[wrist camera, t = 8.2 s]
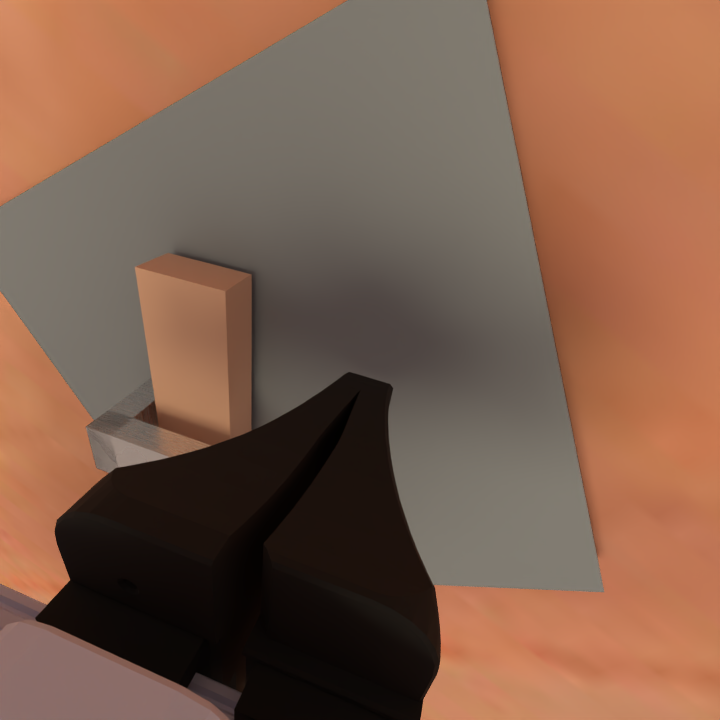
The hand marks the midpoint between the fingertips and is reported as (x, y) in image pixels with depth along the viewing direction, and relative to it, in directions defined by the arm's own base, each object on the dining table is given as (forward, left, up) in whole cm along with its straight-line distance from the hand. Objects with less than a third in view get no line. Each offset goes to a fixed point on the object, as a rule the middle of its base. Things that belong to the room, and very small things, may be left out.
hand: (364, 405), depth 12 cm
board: (-5, -1, -4) cm, 6 cm away
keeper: (-8, -1, -2) cm, 8 cm away
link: (-8, -2, -2) cm, 8 cm away
